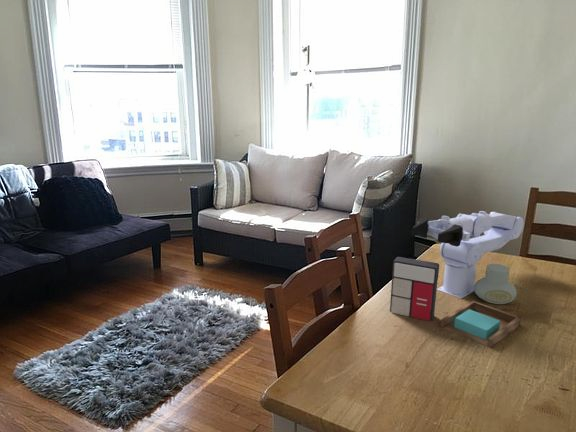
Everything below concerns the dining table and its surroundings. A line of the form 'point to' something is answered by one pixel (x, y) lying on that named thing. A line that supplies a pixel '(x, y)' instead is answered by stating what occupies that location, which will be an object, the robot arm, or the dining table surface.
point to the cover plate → (477, 324)
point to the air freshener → (495, 285)
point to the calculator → (414, 288)
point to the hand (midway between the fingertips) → (425, 234)
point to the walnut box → (506, 319)
